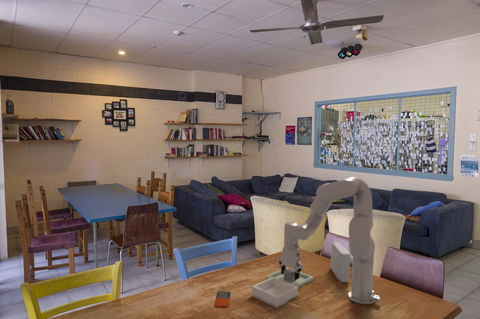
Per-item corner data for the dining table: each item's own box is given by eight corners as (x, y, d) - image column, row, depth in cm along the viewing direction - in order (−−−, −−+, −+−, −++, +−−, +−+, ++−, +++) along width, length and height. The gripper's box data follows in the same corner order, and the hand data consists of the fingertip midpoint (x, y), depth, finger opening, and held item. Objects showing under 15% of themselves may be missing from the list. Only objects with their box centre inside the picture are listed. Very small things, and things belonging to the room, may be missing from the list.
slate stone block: (296, 279, 180) (296, 270, 180) (291, 282, 177) (291, 273, 177) (289, 276, 184) (289, 267, 184) (283, 279, 180) (283, 270, 180)
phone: (214, 305, 151) (217, 290, 166) (214, 308, 151) (217, 293, 166) (228, 306, 151) (230, 291, 166) (228, 308, 151) (230, 293, 166)
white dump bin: (297, 296, 162) (298, 287, 162) (277, 308, 151) (277, 297, 151) (273, 286, 174) (273, 276, 173) (252, 295, 162) (252, 286, 162)
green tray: (313, 281, 180) (313, 276, 180) (293, 291, 168) (293, 286, 168) (287, 271, 193) (287, 267, 193) (266, 280, 181) (266, 275, 180)
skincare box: (349, 282, 179) (350, 254, 178) (339, 282, 179) (340, 254, 178) (339, 267, 200) (339, 242, 199) (330, 267, 200) (330, 241, 199)
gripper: (308, 247, 176) (307, 279, 177) (282, 240, 188) (281, 269, 189) (299, 251, 170) (299, 283, 171) (274, 243, 183) (273, 273, 184)
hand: (290, 276), depth 180 cm, fingers open, 8 cm apart
